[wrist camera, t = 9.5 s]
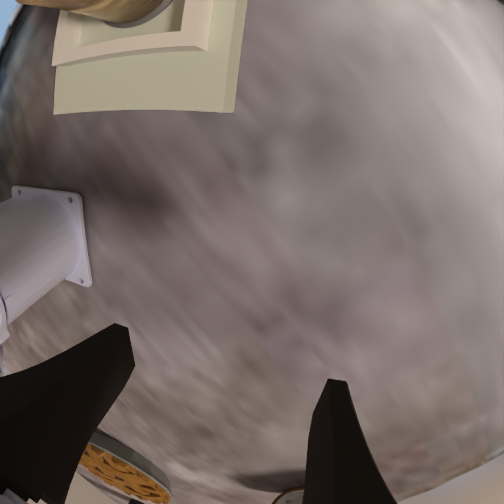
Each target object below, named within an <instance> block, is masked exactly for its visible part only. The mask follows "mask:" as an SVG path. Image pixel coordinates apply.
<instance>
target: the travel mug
mask: <svg viewBox="0 0 504 504" xmlns="http://www.w3.org/2000/svg"><path fill="white" fill-rule="evenodd" d="M129 504H144V503H142V502H139V501H137V500H134V499H131V500H130V502H129Z"/></svg>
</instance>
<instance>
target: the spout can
mask: <svg viewBox="0 0 504 504" xmlns="http://www.w3.org/2000/svg"><path fill="white" fill-rule="evenodd" d="M16 1H17V2H18V3H21V4H28V5H35V6H42V7H48V8H53V9H59V10H64V11H69V12H74V13H78V14H83V15H87V16H91V17H95V18H99V19H103V20H106V21H110V22H114V23H118V24H127V23H132V22H135V21H138V20H140V19H142V18H144V17H146V16H147V15H149V14H150V13H151V12H153V11H154V10H155V9H156V8H157V7H158V6H159V5H160V4H161V3H162V2H163V1H164V0H16Z"/></svg>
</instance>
